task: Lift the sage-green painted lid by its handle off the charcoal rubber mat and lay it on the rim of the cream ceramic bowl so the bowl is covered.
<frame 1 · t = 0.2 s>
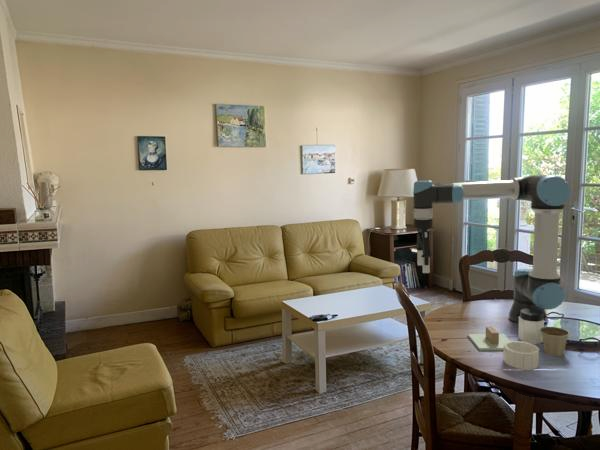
hand: (423, 268, 185), 28 cm above the table, tool pointing down, fingers open, 13 cm apart
jar: (530, 341, 175), on the table
flower pot: (553, 354, 163), on the table
bowl: (520, 363, 156), on the table
lid: (491, 343, 173), resting on mat
mat: (491, 344, 173), on the table
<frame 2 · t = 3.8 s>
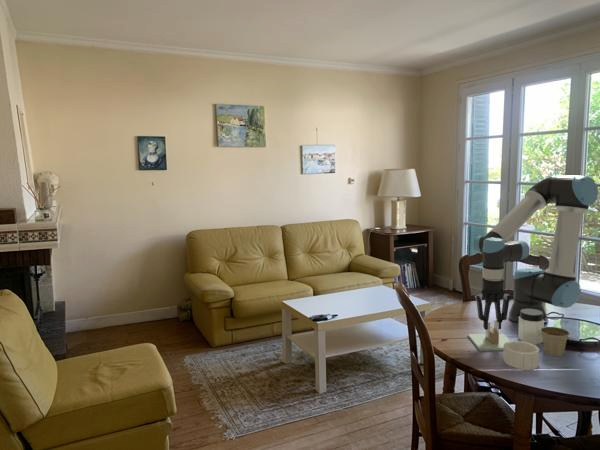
hand: (492, 336, 173), 3 cm above the table, tool pointing down, fingers closed on lid, 2 cm apart
lid: (491, 343, 173), resting on mat, touching gripper
everything else where it was.
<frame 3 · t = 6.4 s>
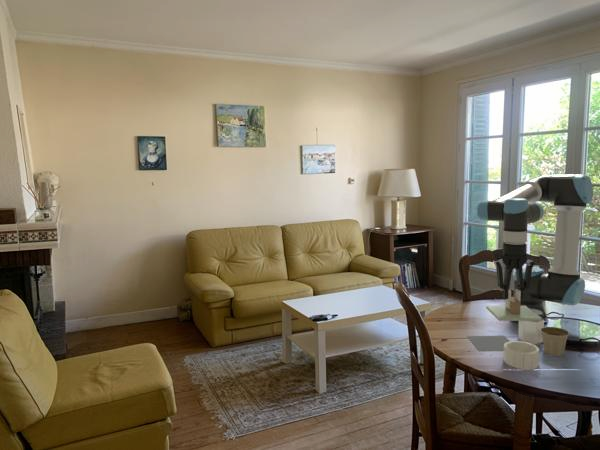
hand: (512, 307, 158), 19 cm above the table, tool pointing down, fingers closed on lid, 2 cm apart
lid: (512, 314, 158), point 17 cm above the table, touching gripper
everything else where it was.
when the fingers open (10 cm above the table, at t = 8.9 s): lid drops 1 cm, resting on bowl.
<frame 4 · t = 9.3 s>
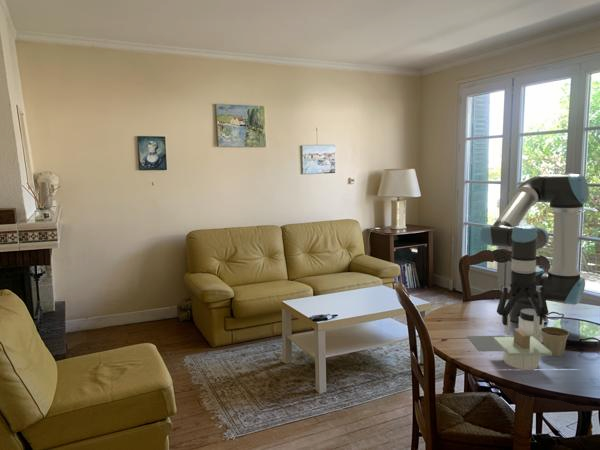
hand: (521, 333, 155), 11 cm above the table, tool pointing down, fingers open, 9 cm apart
lid: (521, 347, 156), point 6 cm above the table, touching bowl
everything else where it was.
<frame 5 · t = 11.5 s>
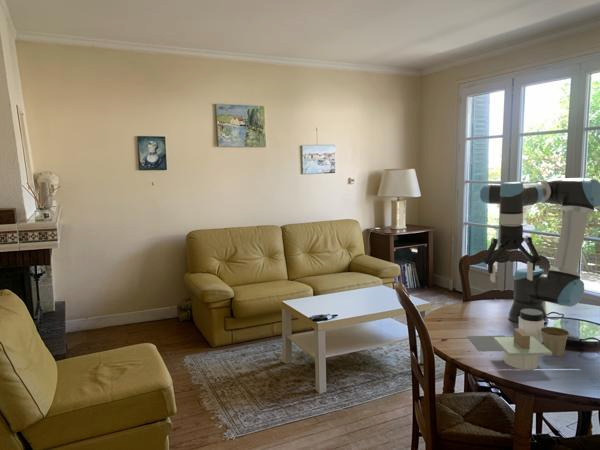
hand: (511, 280, 165), 27 cm above the table, tool pointing down, fingers open, 13 cm apart
nothing on the table moved.
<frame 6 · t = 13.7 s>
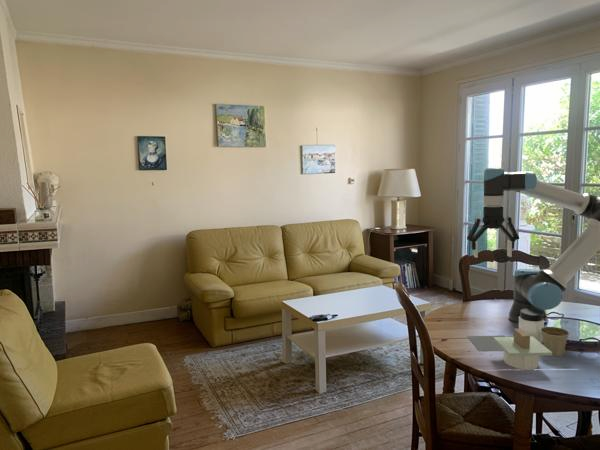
hand: (492, 256, 184), 32 cm above the table, tool pointing down, fingers open, 13 cm apart
nothing on the table moved.
at the end: lid 0.0 cm from the bowl (horizontally); lid point 6.0 cm above the table; lid tilted 0° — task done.
